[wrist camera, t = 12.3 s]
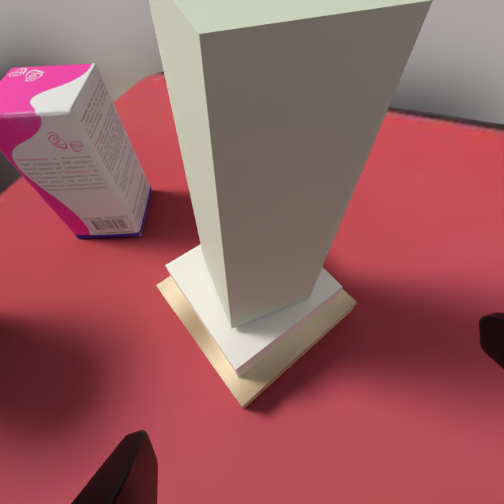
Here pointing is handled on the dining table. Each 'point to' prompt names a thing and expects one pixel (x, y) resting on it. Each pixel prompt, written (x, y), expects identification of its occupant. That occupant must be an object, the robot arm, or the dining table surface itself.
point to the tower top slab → (254, 332)
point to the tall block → (277, 128)
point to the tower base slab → (270, 365)
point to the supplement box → (73, 148)
